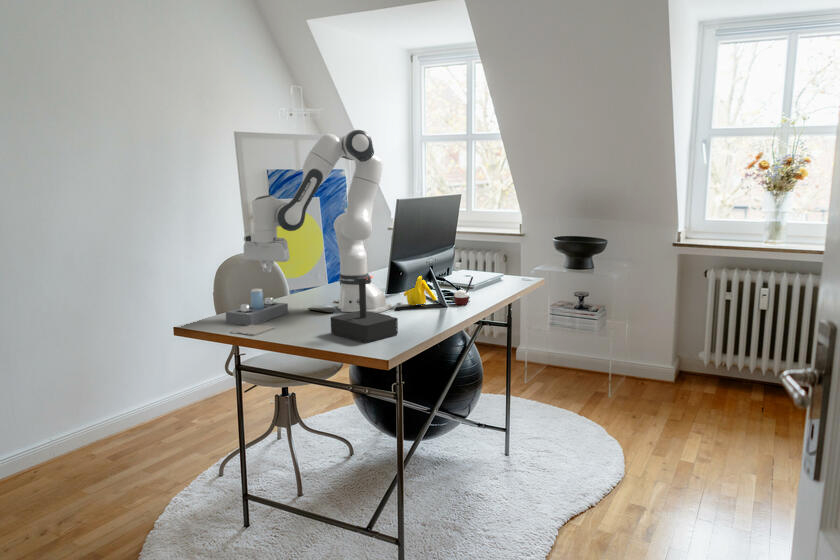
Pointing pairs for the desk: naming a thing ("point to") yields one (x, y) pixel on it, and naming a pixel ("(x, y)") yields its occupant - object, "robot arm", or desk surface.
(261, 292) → the cartridge
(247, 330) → the mat
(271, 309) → the housing
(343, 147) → the robot arm
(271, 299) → the plunger
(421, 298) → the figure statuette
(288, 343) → the desk surface
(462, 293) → the cocoa
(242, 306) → the plunger
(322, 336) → the desk surface
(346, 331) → the black post stand
